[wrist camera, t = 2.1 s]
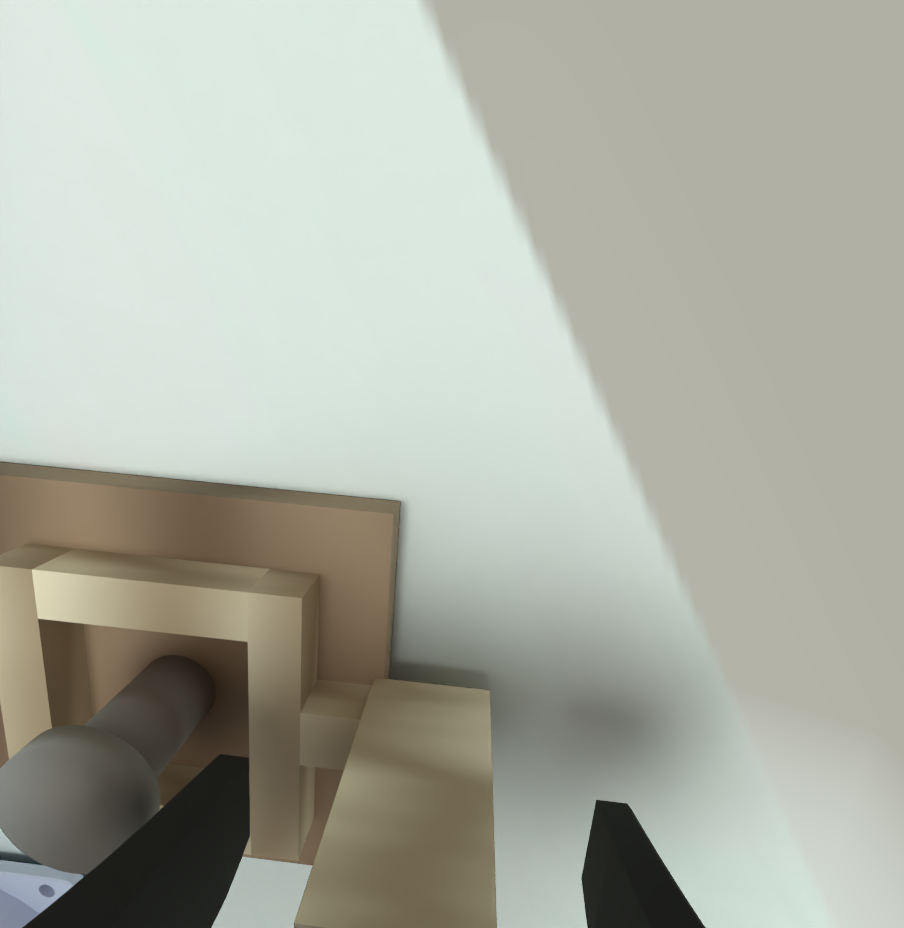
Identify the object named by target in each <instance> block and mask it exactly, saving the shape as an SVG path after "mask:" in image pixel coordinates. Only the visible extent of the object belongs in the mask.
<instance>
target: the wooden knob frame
mask: <svg viewBox="0 0 904 928" xmlns="http://www.w3.org/2000/svg"><path fill="white" fill-rule="evenodd" d="M318 618H319V574H314V573H304V572H295V571H285V570H276V569H266V568H256V567H247V566H237V565H228V564H218V563H209V562H199V561H190V560H180V559H170V558H161V557H151V556H142V555H132V554H123V553H113V552H104V551H94V550H84V549H75V548H65V547H56V546H46V545H37V544H25V545H23V546H20V547H18V548H15V549H13V550H11V551H8V552H6V553H4V554H1V555H0V704H1V710H2V716H3V723H4V729H5V736H6V742H7V749H8V755H9V759H11V758H12V757H13V756H14V755H15V754H16V753H18V752H19V751H20V750H21V749H22V748H23V747H24V746H26V745H27V744H28V743H29V742H30V741H31V740H33V739H34V738H35V737H36V736H38V735H39V734H41V733H42V732H44V731H46V730H48V729H51V728H54V727H59V726H64V725H85V724H86V723H87V722H88V721H89V720H90V719H91V718H92V707H91V697H90V688H89V678H88V668H87V659H86V649H85V639H84V630H83V624H91V625H100V626H109V627H118V628H127V629H136V630H145V631H154V632H163V633H172V634H181V635H190V636H199V637H208V638H217V639H226V640H236V641H245V642H248V694H249V758H250V773H249V798H250V837H249V840H248V842H247V845H246V848H245V850H244V853H243V854H247V855H255V856H263V857H271V858H279V859H287V860H295V861H299V858H300V855H301V852H302V849H303V847H304V844H305V841H306V838H307V835H308V833H309V830H310V827H311V824H312V821H313V819H314V796H315V767H319V768H328V769H336V770H344V772H343V775H342V778H341V781H340V784H339V787H338V790H337V793H336V796H335V799H334V802H333V805H332V809H331V812H330V815H329V818H328V821H327V824H326V827H325V830H324V833H323V836H322V839H321V842H320V845H319V848H318V851H317V854H316V858H315V861H314V864H313V867H312V870H311V873H310V876H309V879H308V882H307V885H306V888H305V891H304V894H303V897H302V900H301V904H300V907H299V910H298V913H297V916H296V919H295V922H294V928H497V919H496V885H495V851H494V816H493V782H492V748H491V714H490V690H482V689H473V688H464V687H455V686H447V685H438V684H429V683H420V682H411V681H402V680H393V679H384V678H375V677H374V680H373V683H372V685H363V684H354V683H345V682H336V681H327V680H319V679H317V662H318ZM203 769H204V768H202V767H194V766H186V765H177V764H169V763H168V765H167V766H166V767H165V769H164V770H163V771H162V773H161V774H160V775H159V777H158V778H157V782H158V785H159V789H160V808H159V810H160V809H161V808H162V807H163V806H165V805H166V804H167V803H168V802H169V801H170V800H171V799H172V798H173V797H174V796H175V795H176V794H177V793H179V792H180V791H181V790H182V789H183V788H184V787H185V786H186V785H187V784H188V783H189V782H190V781H191V780H192V779H193V778H194V777H196V776H197V775H198V774H199V773H200V772H201V771H202V770H203Z"/></svg>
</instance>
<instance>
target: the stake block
mask: <svg viewBox="0 0 904 928" xmlns="http://www.w3.org/2000/svg"><path fill="white" fill-rule="evenodd" d="M399 516H400V501H391V500H381V499H371V498H361V497H350V496H340V495H330V494H320V493H310V492H300V491H289V490H279V489H269V488H259V487H249V486H239V485H229V484H218V483H208V482H198V481H188V480H178V479H168V478H157V477H147V476H137V475H127V474H117V473H107V472H96V471H86V470H76V469H66V468H56V467H46V466H35V465H25V464H15V463H5V462H0V555H1V554H4V553H6V552H8V551H11V550H13V549H15V548H18V547H20V546H23V545H25V544H37V545H46V546H56V547H65V548H75V549H84V550H94V551H104V552H113V553H123V554H132V555H142V556H151V557H161V558H170V559H180V560H190V561H199V562H209V563H218V564H228V565H237V566H247V567H256V568H266V569H276V570H285V571H295V572H304V573H314V574H319V618H318V662H317V679H319V680H327V681H336V682H345V683H354V684H363V685H372V683H373V680H374V677H375V678H384V679H389V677H390V660H391V644H392V628H393V612H394V596H395V580H396V564H397V548H398V532H399ZM83 630H84V639H85V649H86V659H87V668H88V678H89V688H90V697H91V707H92V718H91V719H90V720H89V721H88V722H87V723H86V724H85V725H64V726H59V727H54V728H51V729H48V730H46V731H44V732H42V733H41V734H39V735H38V736H36V737H35V738H34V739H33V740H31V741H30V742H29V743H28V744H27V745H26V746H24V747H23V748H22V749H21V750H20V751H19V752H18V753H16V754H15V755H14V756H13V757H12V758H11V759H9V755H8V749H7V742H6V736H5V729H4V723H3V716H2V710H1V704H0V828H1V829H2V831H3V832H4V834H5V835H6V836H7V838H8V839H9V840H10V841H11V842H12V843H13V844H14V845H15V846H16V847H17V848H18V849H19V850H21V851H22V852H23V853H24V854H26V855H27V856H29V857H30V858H32V859H33V860H35V861H37V862H39V863H41V864H43V865H45V866H47V867H50V868H53V869H55V870H59V871H63V872H67V873H73V874H88V873H89V872H90V871H91V870H93V869H94V868H95V867H96V866H97V865H99V864H100V863H101V862H102V861H103V860H104V859H106V858H107V857H108V856H109V855H110V854H111V853H113V852H114V851H115V850H116V849H117V848H118V847H119V846H120V845H121V844H123V843H124V842H125V841H126V840H127V839H128V838H129V837H130V836H132V835H133V834H134V833H135V832H136V831H137V830H138V829H139V828H140V827H142V826H143V825H144V824H145V823H146V822H147V821H148V820H149V819H150V818H152V817H153V816H154V815H155V814H156V813H157V812H158V811H159V808H160V789H159V785H158V782H157V778H158V777H159V775H160V774H161V773H162V771H163V770H164V769H165V767H166V766H167V765H168V763H169V764H177V765H186V766H194V767H202V768H205V767H206V766H207V765H208V764H209V763H210V762H211V761H213V760H214V759H215V758H216V757H217V756H219V755H220V754H224V755H233V756H241V757H249V694H248V642H245V641H236V640H226V639H217V638H208V637H199V636H190V635H181V634H172V633H163V632H154V631H145V630H136V629H127V628H118V627H109V626H100V625H91V624H83ZM343 772H344V770H336V769H328V768H319V767H315V796H314V819H313V821H312V824H311V827H310V830H309V833H308V835H307V838H306V841H305V844H304V847H303V849H302V852H301V855H300V858H299V861H295V860H287V859H279V858H271V857H263V856H255V855H247V854H243V857H251V858H259V859H267V860H275V861H283V862H291V863H298V864H306V865H313V864H314V861H315V858H316V854H317V851H318V848H319V845H320V842H321V839H322V836H323V833H324V830H325V827H326V824H327V821H328V818H329V815H330V812H331V809H332V805H333V802H334V799H335V796H336V793H337V790H338V787H339V784H340V781H341V778H342V775H343ZM249 773H250V758H249Z"/></svg>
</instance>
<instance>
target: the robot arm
mask: <svg viewBox="0 0 904 928" xmlns="http://www.w3.org/2000/svg"><path fill="white" fill-rule="evenodd" d="M249 837H250V798H249V757H241V756H233V755H224V754H220V755H219V756H217V757H216V758H215V759H214V760H213V761H211V762H210V763H209V764H208V765H207V766H206V767H205V768H204V769H203V770H202V771H201V772H200V773H199V774H198V775H197V776H196V777H194V778H193V779H192V780H191V781H190V782H189V783H188V784H187V785H186V786H185V787H184V788H183V789H182V790H181V791H180V792H179V793H177V794H176V795H175V796H174V797H173V798H172V799H171V800H170V801H169V802H168V803H167V804H166V805H165V806H163V807H162V808H161V809H160V810H159V811H158V812H157V813H156V814H155V815H154V816H153V817H152V818H150V819H149V820H148V821H147V822H146V823H145V824H144V825H143V826H142V827H140V828H139V829H138V830H137V831H136V832H135V833H134V834H133V835H132V836H130V837H129V838H128V839H127V840H126V841H125V842H124V843H123V844H121V845H120V846H119V847H118V848H117V849H116V850H115V851H114V852H113V853H111V854H110V855H109V856H108V857H107V858H106V859H104V860H103V861H102V862H101V863H100V864H99V865H97V866H96V867H95V868H94V869H93V870H91V871H90V872H89V873H88V874H87V875H86V876H84V877H83V875H82V874H73V873H67V872H63V871H59V870H55V869H53V868H50V867H47V866H44V865H36V864H29V863H21V862H13V861H5V860H0V928H211V927H212V925H213V923H214V921H215V919H216V917H217V915H218V913H219V911H220V909H221V907H222V905H223V902H224V900H225V898H226V896H227V894H228V891H229V889H230V886H231V884H232V881H233V879H234V876H235V874H236V871H237V869H238V866H239V863H240V861H241V858H242V856H243V853H244V850H245V848H246V845H247V842H248V840H249ZM582 885H583V894H584V902H585V910H586V918H587V925H588V928H705V926H704V925H703V923H702V922H701V920H700V919H699V917H698V916H697V914H696V913H695V911H694V910H693V908H692V907H691V905H690V904H689V902H688V901H687V899H686V898H685V896H684V894H683V893H682V891H681V890H680V888H679V887H678V885H677V884H676V882H675V880H674V879H673V877H672V876H671V874H670V872H669V871H668V869H667V867H666V866H665V864H664V863H663V861H662V859H661V858H660V856H659V855H658V853H657V851H656V850H655V848H654V846H653V845H652V843H651V841H650V840H649V838H648V836H647V835H646V833H645V831H644V830H643V828H642V826H641V825H640V823H639V821H638V820H637V818H636V816H635V815H634V813H633V811H632V809H631V808H630V807H629V806H628V804H626V803H617V802H609V801H601V800H596V805H595V810H594V816H593V821H592V826H591V831H590V837H589V842H588V847H587V852H586V858H585V863H584V868H583V873H582Z"/></svg>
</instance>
